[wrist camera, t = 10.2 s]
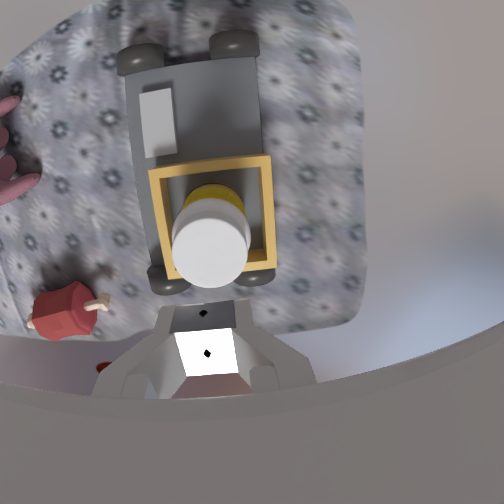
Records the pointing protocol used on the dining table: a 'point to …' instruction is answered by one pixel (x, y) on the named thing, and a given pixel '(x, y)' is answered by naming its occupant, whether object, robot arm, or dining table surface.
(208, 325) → the robot arm
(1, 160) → the video game controller
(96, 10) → the dining table surface
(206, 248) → the supplement bottle
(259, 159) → the chassis
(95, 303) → the meat
